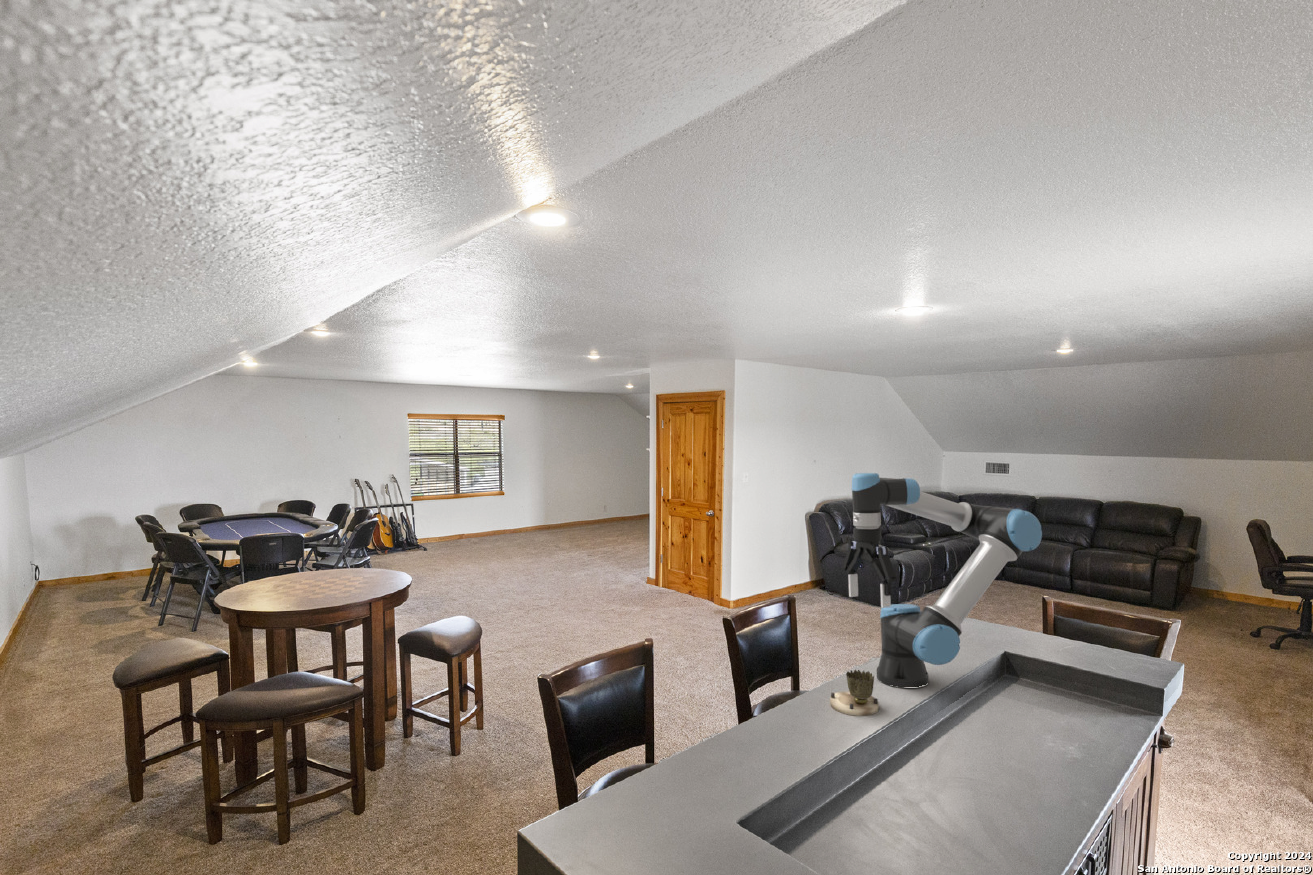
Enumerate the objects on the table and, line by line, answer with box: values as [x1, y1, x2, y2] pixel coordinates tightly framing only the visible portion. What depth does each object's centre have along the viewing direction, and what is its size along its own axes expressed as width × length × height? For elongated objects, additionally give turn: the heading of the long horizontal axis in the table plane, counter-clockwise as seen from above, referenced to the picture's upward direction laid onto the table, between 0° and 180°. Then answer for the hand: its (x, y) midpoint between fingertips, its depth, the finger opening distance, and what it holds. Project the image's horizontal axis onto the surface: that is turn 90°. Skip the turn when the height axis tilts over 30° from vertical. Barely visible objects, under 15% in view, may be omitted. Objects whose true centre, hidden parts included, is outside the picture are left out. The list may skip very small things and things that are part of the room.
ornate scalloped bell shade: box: [845, 669, 875, 705], centre depth 175 cm, size 8×7×8 cm
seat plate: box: [829, 690, 879, 717], centre depth 177 cm, size 13×13×3 cm
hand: (869, 601), depth 179 cm, fingers open, 13 cm apart
